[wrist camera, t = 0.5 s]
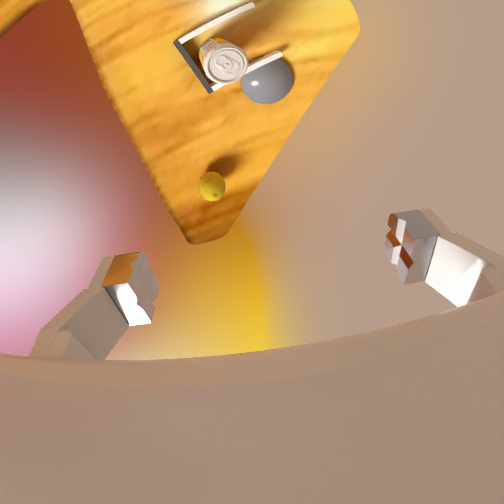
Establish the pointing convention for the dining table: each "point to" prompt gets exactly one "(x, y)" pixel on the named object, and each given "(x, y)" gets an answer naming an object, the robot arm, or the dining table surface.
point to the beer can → (223, 60)
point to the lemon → (212, 186)
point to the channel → (180, 41)
